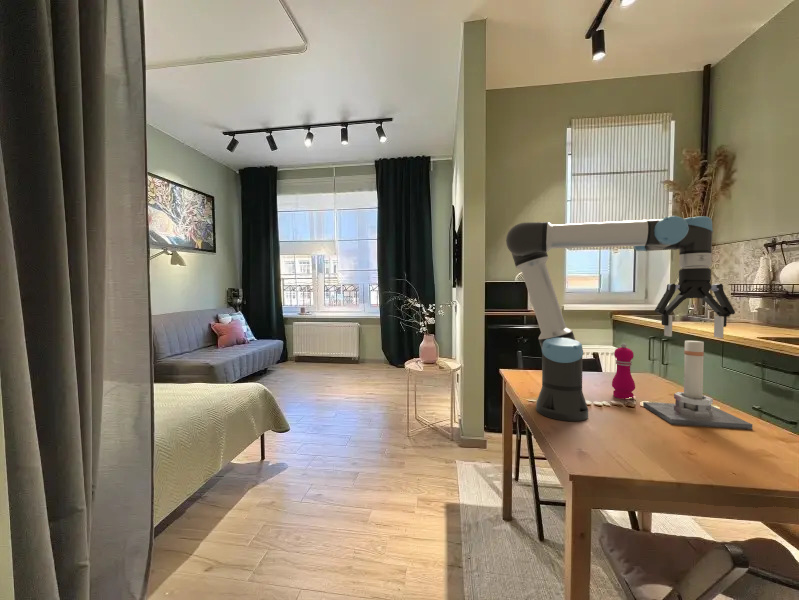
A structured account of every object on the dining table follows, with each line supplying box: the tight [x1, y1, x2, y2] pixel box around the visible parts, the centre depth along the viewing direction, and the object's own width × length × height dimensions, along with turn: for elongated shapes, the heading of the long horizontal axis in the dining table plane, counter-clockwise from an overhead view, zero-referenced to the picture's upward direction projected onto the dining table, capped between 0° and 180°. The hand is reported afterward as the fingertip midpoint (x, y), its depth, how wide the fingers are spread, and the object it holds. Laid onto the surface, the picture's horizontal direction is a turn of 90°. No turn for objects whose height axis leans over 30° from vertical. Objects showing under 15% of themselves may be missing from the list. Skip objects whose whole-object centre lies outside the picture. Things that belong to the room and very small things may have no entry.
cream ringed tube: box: [683, 340, 705, 410], centre depth 104 cm, size 4×4×22 cm
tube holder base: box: [642, 391, 753, 430], centre depth 104 cm, size 20×16×6 cm
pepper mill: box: [611, 343, 636, 400], centre depth 124 cm, size 7×7×20 cm
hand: (692, 336), depth 104 cm, fingers open, 13 cm apart
